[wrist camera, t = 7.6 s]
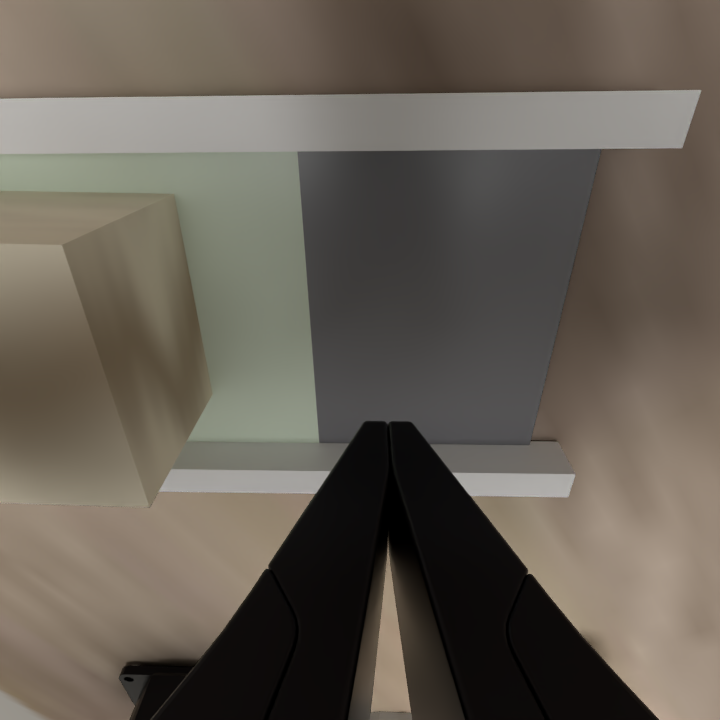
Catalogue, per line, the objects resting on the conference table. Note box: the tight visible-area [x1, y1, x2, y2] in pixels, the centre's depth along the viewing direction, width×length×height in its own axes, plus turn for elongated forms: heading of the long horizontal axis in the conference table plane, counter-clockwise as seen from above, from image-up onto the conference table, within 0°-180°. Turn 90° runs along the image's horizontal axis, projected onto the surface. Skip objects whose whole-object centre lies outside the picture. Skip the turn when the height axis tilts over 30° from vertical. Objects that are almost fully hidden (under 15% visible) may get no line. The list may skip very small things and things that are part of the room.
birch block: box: [0, 191, 212, 508], centre depth 10 cm, size 6×6×4 cm
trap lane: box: [0, 90, 701, 497], centre depth 12 cm, size 11×26×2 cm, turn 91°
